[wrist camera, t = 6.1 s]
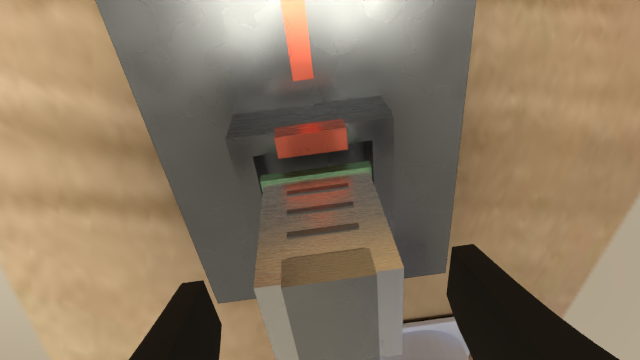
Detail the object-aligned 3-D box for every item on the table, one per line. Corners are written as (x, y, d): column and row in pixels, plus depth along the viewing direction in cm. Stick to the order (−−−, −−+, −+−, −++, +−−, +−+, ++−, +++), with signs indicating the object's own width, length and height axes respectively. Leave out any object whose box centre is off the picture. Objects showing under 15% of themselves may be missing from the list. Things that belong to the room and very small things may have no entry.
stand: (440, 262, 21) (467, 318, 18) (220, 292, 21) (208, 353, 18) (473, -65, 13) (535, -67, 10) (100, -16, 13) (37, -1, 9)
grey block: (372, 252, 15) (412, 396, 10) (282, 264, 15) (280, 414, 10) (368, 141, 12) (420, 269, 8) (256, 156, 12) (238, 293, 8)
